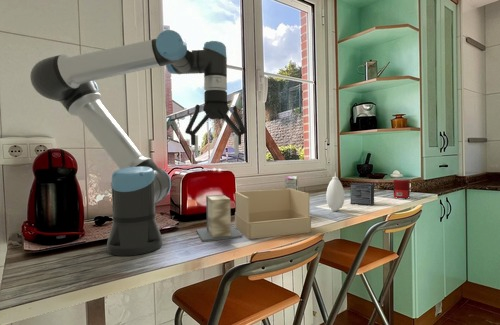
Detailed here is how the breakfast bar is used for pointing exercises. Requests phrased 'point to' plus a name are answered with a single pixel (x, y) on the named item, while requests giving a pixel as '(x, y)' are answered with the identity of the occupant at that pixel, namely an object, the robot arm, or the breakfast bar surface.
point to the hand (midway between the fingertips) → (216, 155)
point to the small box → (362, 193)
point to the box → (218, 215)
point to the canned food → (401, 187)
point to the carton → (272, 213)
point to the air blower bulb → (335, 194)
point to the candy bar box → (292, 182)
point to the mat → (207, 237)
